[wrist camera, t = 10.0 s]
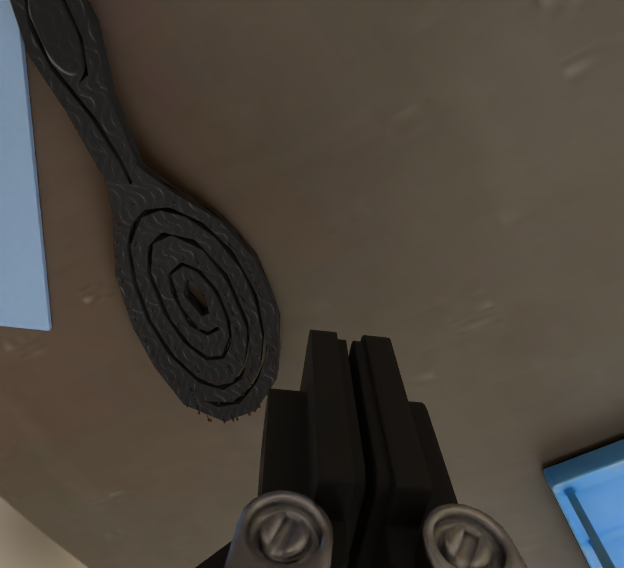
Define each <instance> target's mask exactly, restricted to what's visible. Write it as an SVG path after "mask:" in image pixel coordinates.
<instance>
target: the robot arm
mask: <svg viewBox="0 0 624 568" xmlns="http://www.w3.org/2000/svg"><path fill="white" fill-rule="evenodd" d="M196 568H527V566H526V564H525V562H524V561H523V559H522V557H521V555H520V553H519V552H518V550H517V548H516V546H515V545H514V543H513V541H512V539H511V538H510V537H509V535H508V534H507V532H506V531H505V530H504V528H503V527H502V526H501V525H500V524H499V523H497V522H496V521H495V520H494V519H493V518H492V517H490V516H489V515H487V514H485V513H484V512H482V511H480V510H478V509H476V508H473V507H470V506H467V505H463V504H458V502H457V499H456V496H455V493H454V490H453V487H452V484H451V481H450V478H449V475H448V472H447V469H446V466H445V463H444V460H443V457H442V454H441V451H440V447H439V444H438V441H437V438H436V435H435V432H434V429H433V426H432V423H431V420H430V417H429V414H428V411H427V409H426V406H425V405H424V404H423V403H420V402H409V401H408V399H407V396H406V392H405V389H404V385H403V382H402V378H401V375H400V371H399V368H398V364H397V361H396V357H395V354H394V350H393V347H392V343H391V340H390V338H386V337H377V336H367V335H363V336H362V338H361V342H359V341H353V342H352V344H351V348H350V353H349V357H348V350H347V344H346V340H340V339H337V333H336V332H328V331H319V330H310V333H309V338H308V344H307V350H306V356H305V362H304V369H303V375H302V381H301V387H300V391H292V390H281V389H270V388H269V390H268V397H267V404H266V412H265V420H264V429H263V438H262V449H261V460H260V472H259V485H258V497H256V498H254V499H253V500H252V501H251V502H250V503H249V504H248V505H247V506H246V507H245V508H244V509H243V511H242V513H241V515H240V517H239V519H238V522H237V525H236V529H235V532H234V536H233V539H232V541H231V542H230V543H228V544H227V545H225V546H224V547H223V548H221V549H220V550H219V551H217V552H216V553H215V554H213V555H212V556H211V557H209V558H208V559H206V560H205V561H204V562H202V563H201V564H200V565H198V566H197V567H196Z"/></svg>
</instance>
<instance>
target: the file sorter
mask: <svg viewBox="0 0 624 568" xmlns="http://www.w3.org/2000/svg"><path fill="white" fill-rule="evenodd" d="M543 474H544V476H545V478H546V480H547V482H548V484H549V486H550V488H551V490H552V492H553V494H554V496H555V498H556V500H557V502H558V504H559V506H560V508H561V510H562V512H563V514H564V516H565V518H566V520H567V522H568V524H569V526H570V528H571V530H572V532H573V534H574V536H575V538H576V540H577V542H578V544H579V546H580V548H581V550H582V552H583V554H584V556H585V558H586V560H587V562H588V564H589V566H590V568H624V439H623V440H620V441H617V442H615V443H612V444H610V445H607V446H604V447H602V448H599V449H596V450H594V451H591V452H588V453H586V454H583V455H580V456H578V457H575V458H572V459H570V460H567V461H565V462H562V463H559V464H557V465H554V466H551V467H548V468H546V469H544V471H543Z"/></svg>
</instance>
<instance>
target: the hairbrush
mask: <svg viewBox="0 0 624 568" xmlns="http://www.w3.org/2000/svg"><path fill="white" fill-rule="evenodd" d="M10 3H11V6H12V9H13V12H14V15H15V18H16V21H17V24H18V27H19V30H20V33H21V36H22V39H23V42H24V45H25V48H26V51H27V53H28V55H29V56H30V58H31V59H32V61H33V62H34V64H35V65H36V67H37V68H38V70H39V71H40V73H41V74H42V76H43V77H44V79H45V80H46V82H47V83H48V85H49V86H50V88H51V89H52V91H53V93H54V94H55V96H56V97H57V99H58V100H59V102H60V103H61V105H62V106H63V108H64V109H65V111H66V112H67V114H68V116H69V117H70V119H71V121H72V123H73V124H74V126H75V128H76V130H77V131H78V133H79V135H80V137H81V138H82V140H83V142H84V144H85V145H86V147H87V149H88V151H89V152H90V154H91V156H92V158H93V160H94V161H95V163H96V165H97V167H98V168H99V170H100V172H101V174H102V175H103V177H104V179H105V181H106V182H107V186H108V191H109V197H110V202H111V207H112V213H113V222H114V248H115V274H116V278H117V281H118V284H119V287H120V290H121V293H122V296H123V299H124V302H125V305H126V308H127V311H128V314H129V317H130V320H131V323H132V326H133V328H134V330H135V332H136V334H137V336H138V338H139V339H140V341H141V343H142V345H143V347H144V349H145V350H146V352H147V354H148V356H149V358H150V360H151V361H152V363H153V365H154V367H155V368H156V369H157V371H158V372H159V373H160V375H161V376H162V377H163V378H164V380H165V381H166V382H167V383H168V385H169V386H170V387H171V389H172V390H173V391H174V392H175V394H176V395H177V396H178V398H179V399H180V400H181V401H182V403H183V404H184V405H186V407H188V406H189V407H191V408H193V409H196V410H198V411H199V412H198V414H200V411H201V412H203V413H205V414H208V415H210V416H213V417H215V418H217V419H220V420H222V421H223V422H224V423H225V421H228V420H230V419H232V420H233V422H234V419H233V418H236V417H239V416H241V415H244V414H247V413H248V415H251V414H250V412H252V411H254V412H256V411H255V410H257V408H258V407H259V408H260V404H261V402H262V400H263V399H264V397H265V396H266V395H267V394H268V390H269V388H271V387H272V385H273V384H274V382H275V381H276V379H277V374H278V370H279V356H280V348H281V345H280V313H279V311H278V308H277V305H276V302H275V300H274V297H273V293H272V290H271V288H270V286H269V284H268V282H267V279H266V277H265V274H264V272H263V269H262V267H261V264H260V262H259V259H258V257H257V254H256V252H255V251H254V250H253V249H252V248H251V247H250V246H249V245H248V244H247V243H246V241H245V240H244V239H243V238H242V237H241V236H240V235H239V234H238V233H237V231H236V230H235V229H234V228H233V227H232V226H231V225H230V224H229V223H228V221H227V220H226V219H225V218H224V217H223V216H222V215H220V214H218V213H217V212H215V211H214V210H212V209H210V208H209V207H207V206H205V205H204V204H202V203H201V202H199V201H197V200H196V199H194V198H193V197H191V196H189V195H188V194H186V193H184V192H183V191H181V190H180V189H178V188H177V187H175V186H174V185H172V184H171V183H170V182H168V181H167V180H166V179H164V178H163V177H161V176H160V175H159V174H157V173H156V172H154V171H153V170H152V169H150V168H149V167H147V166H146V165H145V164H144V162H143V160H142V158H141V155H140V153H139V150H138V148H137V145H136V143H135V141H134V138H133V136H132V133H131V131H130V128H129V126H128V123H127V121H126V119H125V116H124V114H123V111H122V109H121V106H120V104H119V102H118V99H117V97H116V94H115V89H114V85H113V80H112V76H111V72H110V67H109V63H108V58H107V54H106V50H105V45H104V41H103V37H102V32H101V28H100V23H99V20H98V18H97V16H96V14H95V12H94V10H93V8H92V6H91V4H90V2H89V0H10ZM167 207H170V208H167ZM171 208H172V209H171ZM147 209H154V210H151V211H149V212H148V213H147V214H146V215H144V216H143V217H142V218H141V219H140V222H139V224H138V225H137V227H136V232H135V235H134V228H135V222H136V220H137V219H138V218H139V217H140V216H141V215H142V214H143V213H144V212H145V211H146V210H147ZM162 232H164V233H168V234H166V235H163V236H161V237H160V238H158V239H157V240H156V238H157V237H158V236H159V235H160V234H161V233H162ZM133 235H134V237H133ZM155 240H156V241H155ZM152 247H153V252H152V260H151V256H150V251H151V249H152ZM180 262H182V264H180V265H178V264H179V263H180ZM177 265H178V266H177ZM176 266H177V267H176ZM175 267H176V269H175V271H174V272H173V273H172V271H173V269H174V268H175ZM187 280H189V281H190V282H192V283H193V284H195V285H196V286H197V287H199V288H200V289H202V290H203V292H202V293H203V294H204V296H205V300H206V303H207V306H208V309H204V310H203V309H202V307H201V306H200V305H199V303H198V302H197V301H196V299H195V298H194V297H193V295H192V294H191V293H190V291H189V288H188V281H187ZM253 288H254V289H253ZM254 290H255V291H256V293H257V296H258V299H257V296H256V294H255V291H254ZM258 301H259V302H258ZM247 320H248V321H247ZM248 322H249V333H250V346H251V347H250V354H249V357H248V361H247V364H246V366H245V368H244V369H243V371H242V373H241V374H240V376H238V377H236V376H237V375H238V373H239V371H240V369H241V368H242V366H243V364H244V363H245V358H246V354H247V347H248V342H249V333H248ZM230 324H231V330H230ZM231 333H232V342H231V344H230V346H229V348H228V349H227V350H226V351H225V352H224V350H225V349H226V346H227V343H228V342H229V339H230V335H231ZM264 334H265V340H266V353H265V359H264V362H263V365H262V367H261V369H260V372H259V374H258V376H257V378H256V379H255V381H254V383H253V384H252V383H251V382H252V380H253V378H254V377H256V376H255V375H256V373H257V371H258V369H259V367H260V364H261V360H262V351H263V339H264ZM223 352H224V353H223ZM249 386H251V387H250V388H249ZM248 388H249V389H248ZM207 417H208V416H207ZM209 420H210V422H211V421H212V420H211V419H209V418H208V421H209ZM236 420H238V418H236Z"/></svg>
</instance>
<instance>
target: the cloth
mask: <svg viewBox="0 0 624 568" xmlns="http://www.w3.org/2000/svg"><path fill="white" fill-rule="evenodd" d="M0 326H8V327H17V328H27V329H37V330H46V331H50V329H51V328H52V323H51V312H50V302H49V292H48V281H47V271H46V261H45V250H44V240H43V230H42V219H41V209H40V199H39V188H38V178H37V168H36V157H35V147H34V137H33V127H32V116H31V106H30V96H29V85H28V75H27V65H26V54H25V45H24V42H23V39H22V36H21V33H20V30H19V27H18V24H17V21H16V18H15V15H14V12H13V9H12V6H11V3H10V0H0Z"/></svg>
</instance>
